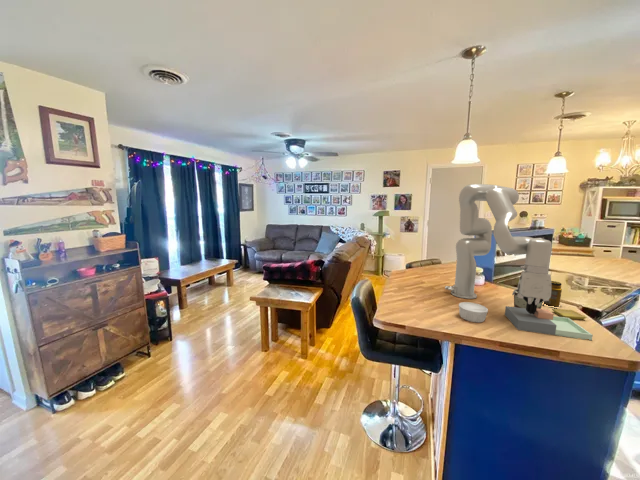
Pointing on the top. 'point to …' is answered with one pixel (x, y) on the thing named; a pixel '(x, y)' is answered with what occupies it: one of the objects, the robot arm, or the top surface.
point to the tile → (544, 314)
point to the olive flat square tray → (569, 314)
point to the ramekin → (472, 311)
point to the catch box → (570, 328)
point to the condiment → (554, 294)
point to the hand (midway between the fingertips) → (530, 312)
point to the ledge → (529, 321)
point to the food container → (522, 301)
